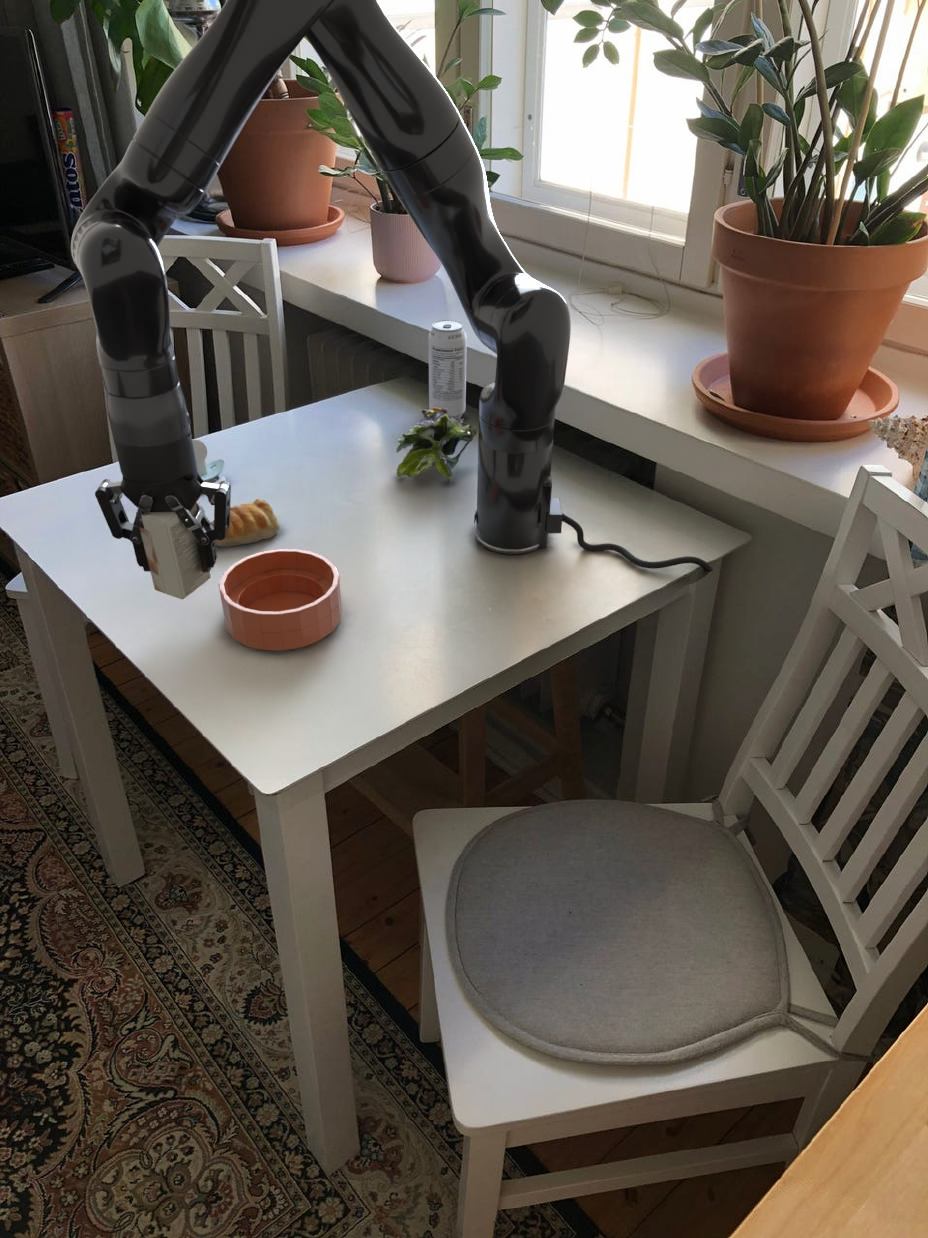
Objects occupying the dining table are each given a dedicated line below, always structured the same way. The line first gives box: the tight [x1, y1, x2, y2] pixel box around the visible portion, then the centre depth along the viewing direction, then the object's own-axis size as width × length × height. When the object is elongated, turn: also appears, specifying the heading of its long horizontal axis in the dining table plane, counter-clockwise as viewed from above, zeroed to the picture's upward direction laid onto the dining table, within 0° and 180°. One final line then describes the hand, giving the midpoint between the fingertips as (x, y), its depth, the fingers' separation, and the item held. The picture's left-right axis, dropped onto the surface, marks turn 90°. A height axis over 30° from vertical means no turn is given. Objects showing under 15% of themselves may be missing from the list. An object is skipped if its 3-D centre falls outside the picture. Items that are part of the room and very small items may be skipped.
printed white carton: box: [135, 504, 212, 600], centre depth 101 cm, size 5×4×10 cm
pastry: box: [210, 498, 281, 548], centre depth 121 cm, size 9×7×4 cm
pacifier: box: [192, 438, 227, 484], centre depth 132 cm, size 7×6×6 cm
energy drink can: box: [428, 319, 468, 419], centre depth 150 cm, size 6×6×15 cm
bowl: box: [218, 548, 343, 651], centre depth 106 cm, size 13×13×6 cm
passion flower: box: [395, 407, 478, 485], centre depth 135 cm, size 11×11×12 cm
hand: (179, 567), depth 103 cm, fingers closed on printed white carton, 5 cm apart
